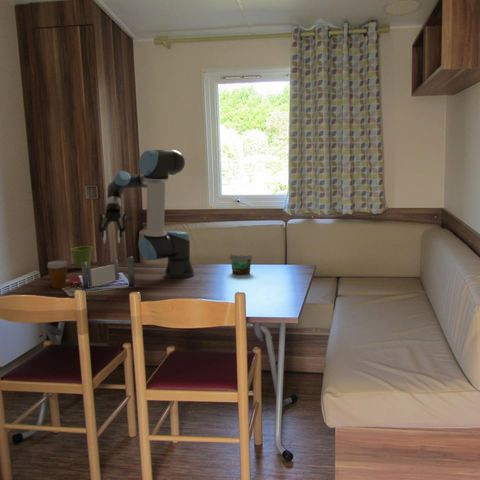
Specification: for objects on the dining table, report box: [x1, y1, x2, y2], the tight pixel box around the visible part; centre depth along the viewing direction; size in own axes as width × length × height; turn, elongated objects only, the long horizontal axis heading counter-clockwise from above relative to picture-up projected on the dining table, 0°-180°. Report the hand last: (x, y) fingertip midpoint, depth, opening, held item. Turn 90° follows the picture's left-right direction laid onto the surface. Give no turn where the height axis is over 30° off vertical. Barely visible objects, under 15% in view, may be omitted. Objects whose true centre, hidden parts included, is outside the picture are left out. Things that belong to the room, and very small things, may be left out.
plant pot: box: [69, 245, 93, 270], centre depth 291 cm, size 12×12×11 cm
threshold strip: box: [90, 285, 128, 290], centre depth 248 cm, size 17×3×1 cm, turn 96°
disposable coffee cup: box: [46, 260, 69, 289], centre depth 251 cm, size 10×10×12 cm
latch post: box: [126, 255, 137, 289], centre depth 248 cm, size 4×4×15 cm
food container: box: [229, 253, 253, 276], centre depth 271 cm, size 12×6×10 cm, turn 68°
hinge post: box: [81, 262, 91, 291], centre depth 245 cm, size 4×4×13 cm
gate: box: [87, 259, 120, 288], centre depth 254 cm, size 17×2×10 cm, turn 141°
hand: (111, 241), depth 267 cm, fingers open, 6 cm apart
